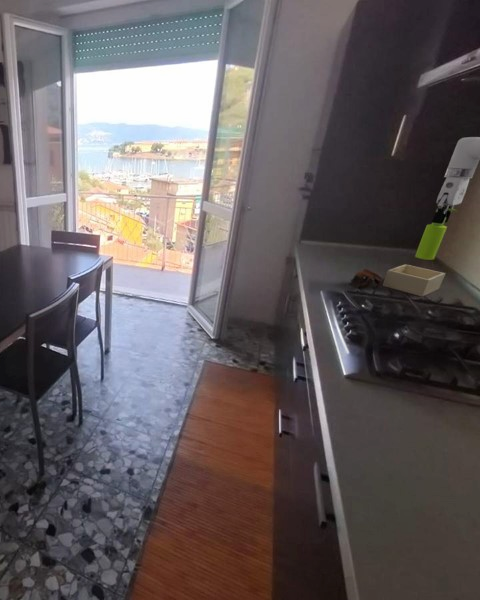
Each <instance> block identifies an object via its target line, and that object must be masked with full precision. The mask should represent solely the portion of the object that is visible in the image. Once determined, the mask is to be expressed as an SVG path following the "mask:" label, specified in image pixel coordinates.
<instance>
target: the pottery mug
mask: <svg viewBox="0 0 480 600" xmlns="http://www.w3.org/2000/svg"><path fill="white" fill-rule="evenodd" d="M382 279H383V277H381V276H380V275H379V274H377V273H376V272H374V271H372V270H370V269H367V268H364V269H363V270H360V271H358V272H356V273H355V275H354V276H353V278H352V279H350V282H349V284H350V285H352V286H353V287H355V288H357V289H359V288H360V286H361V287H363V288H364V289H365V288H366V289H367V288H369V287H370V286H371V285H372V284H373V283H375V284H376V285H375V288H376V289H377V288H379V286H380V285H381V280H382Z"/></svg>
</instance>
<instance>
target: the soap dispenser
mask: <svg viewBox="0 0 480 600" xmlns="http://www.w3.org/2000/svg"><path fill="white" fill-rule="evenodd" d="M447 211H452V212H458V211H459V210H457V209H455V208H453V209H451V208H448V210H447ZM445 220H446V217H445V219H444V222H445ZM444 222H443V223H442V224H439V223H432V222H431V223H430V224H426V226H425V229H424V231H423V234H422V237H421V239H420V241H419V244H418V247H417V250H416V253H415V255H414V258H417V259H421V260H427V261H429V260H431V261H433V260H435V257H436V255H437V253H438V250H439V248H440V245H441V244H442V241H443V239H444V236H445V233H446V232H447V228H448V226H446V225H445V223H444Z"/></svg>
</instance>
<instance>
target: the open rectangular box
mask: <svg viewBox="0 0 480 600" xmlns="http://www.w3.org/2000/svg"><path fill="white" fill-rule="evenodd" d="M445 276H446V272H443V271H442V272H441V271H436V270H433V269H427V268H424V267H419V266H415V265H410V264H405V263H404V264H402V265H399V266H396V267H393V268H390V269H388V270H387V272H386V274H385V277H384V280H383V283H382V286H383V287H386V288H388V289H389V288H390V289H394V290H397V291H400V292H404V293H408V294H412V295H415V296H419V297H424V296H427V295H428V294H430V293H434V292H435V291H438V290H439V289H440V287H441V285H442V283H443V280H444V279H445Z"/></svg>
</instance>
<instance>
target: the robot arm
mask: <svg viewBox="0 0 480 600" xmlns="http://www.w3.org/2000/svg"><path fill="white" fill-rule="evenodd" d="M479 163H480V136H469V137H461V138H460V139H459V140H457V142H456V146H455V148H454V150H453V153H452V155H451V158H450V161H449V163H448V166H447V168H446V171H445V174H444V176H443V178H445V180H444V182H443V184H442V186H441V189H440V191H439V193H438V195H437V199H436V204H437V208H436V210H435V213H434V215H433V218H432V220H431V224H432V223H439V224H442V223H443V222H444V219H445V217H446V220H445V222H444V224H446V223H448V222H449V220H450V218H451V215H452V212H453V211H447V210H448V208H451V209H454V207H455V206H457V205H460V204H462V202H463V200H464V197H465V195H466V192H467V189H468V186H469V183H470V179H473V177H474V174H475V172H476V170H477V167H478V165H479Z"/></svg>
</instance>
